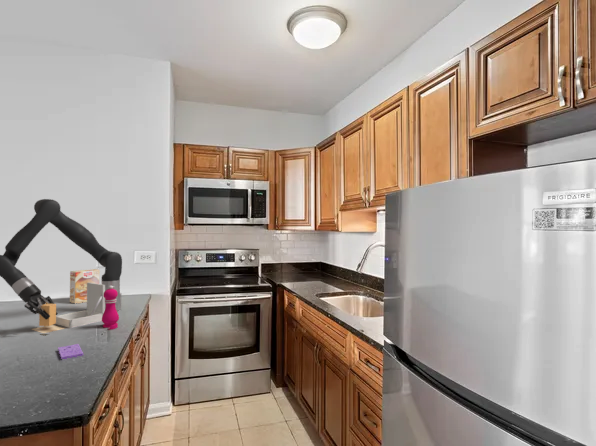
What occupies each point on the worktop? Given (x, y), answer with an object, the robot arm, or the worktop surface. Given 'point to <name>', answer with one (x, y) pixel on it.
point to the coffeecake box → (81, 284)
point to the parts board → (47, 329)
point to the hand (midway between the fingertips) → (52, 316)
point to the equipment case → (93, 309)
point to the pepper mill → (110, 309)
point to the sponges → (70, 351)
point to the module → (51, 311)
